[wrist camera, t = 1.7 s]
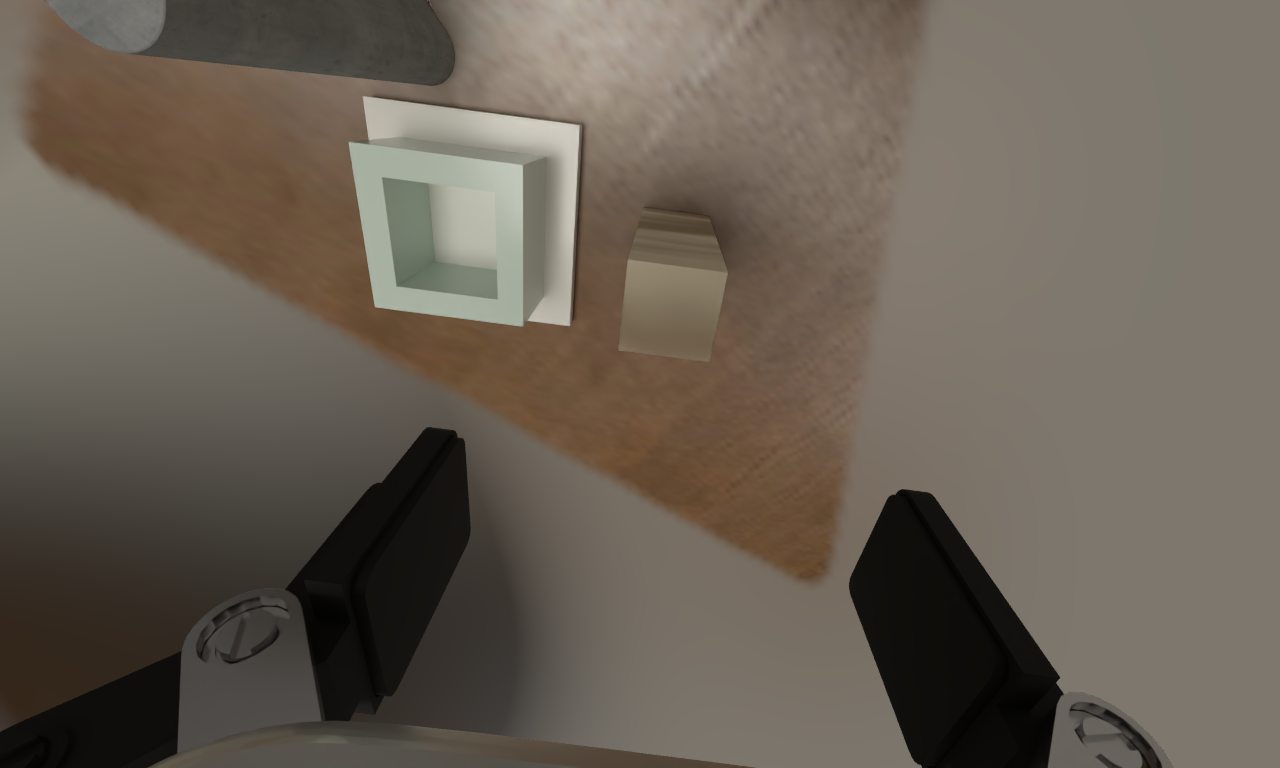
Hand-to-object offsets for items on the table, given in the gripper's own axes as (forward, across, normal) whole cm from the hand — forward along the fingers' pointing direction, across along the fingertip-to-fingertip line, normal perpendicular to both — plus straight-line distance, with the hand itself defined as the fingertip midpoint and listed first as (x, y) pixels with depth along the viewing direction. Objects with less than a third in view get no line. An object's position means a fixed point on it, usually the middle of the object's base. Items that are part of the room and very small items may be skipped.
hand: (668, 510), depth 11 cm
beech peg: (+23, 0, -1) cm, 23 cm away
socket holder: (+23, +12, -1) cm, 26 cm away
